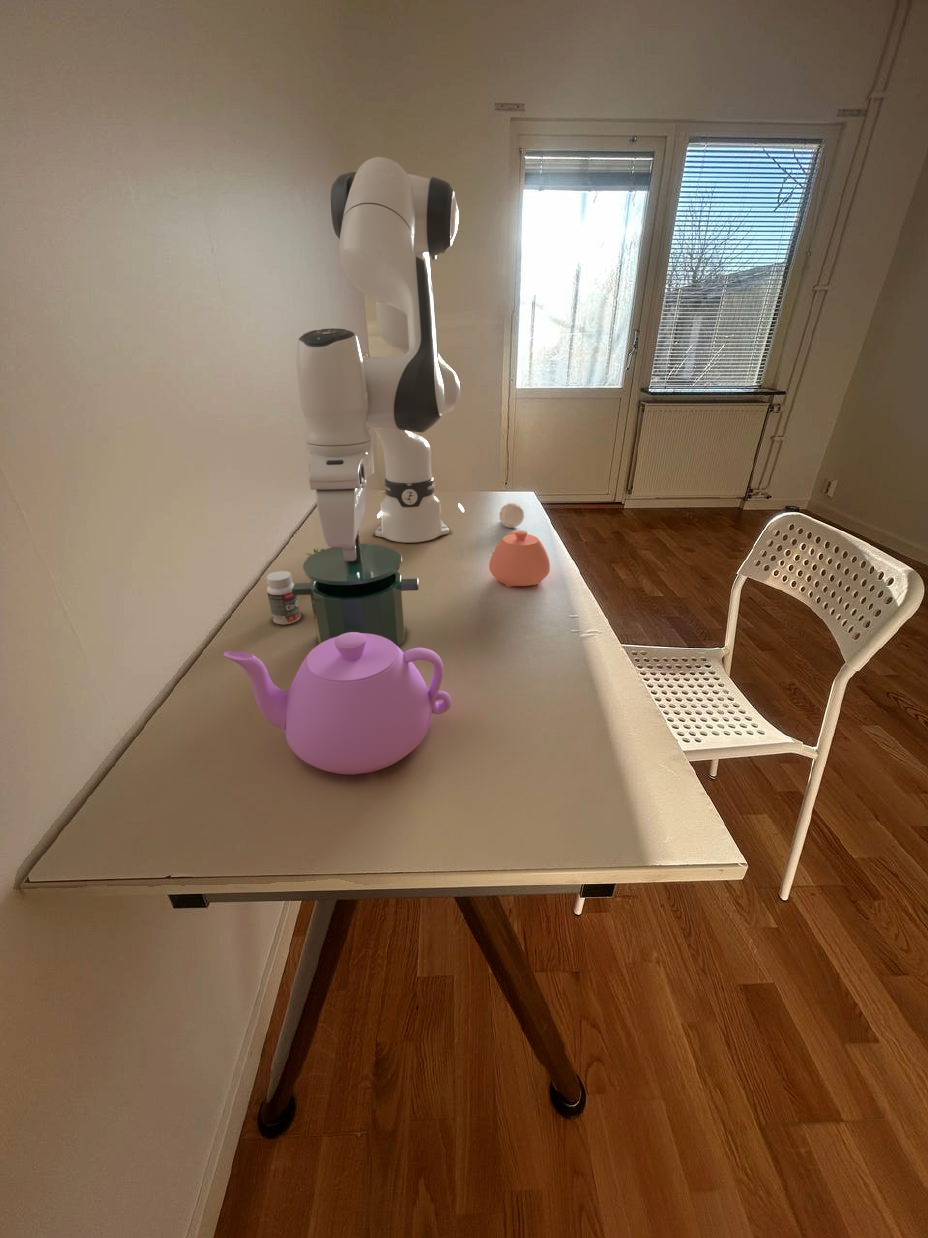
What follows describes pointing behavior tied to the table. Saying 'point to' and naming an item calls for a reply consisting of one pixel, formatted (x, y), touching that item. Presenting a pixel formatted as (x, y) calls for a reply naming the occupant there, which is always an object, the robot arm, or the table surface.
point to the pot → (359, 607)
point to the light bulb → (511, 515)
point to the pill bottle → (282, 598)
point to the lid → (352, 565)
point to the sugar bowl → (519, 560)
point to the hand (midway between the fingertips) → (352, 554)
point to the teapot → (351, 702)
